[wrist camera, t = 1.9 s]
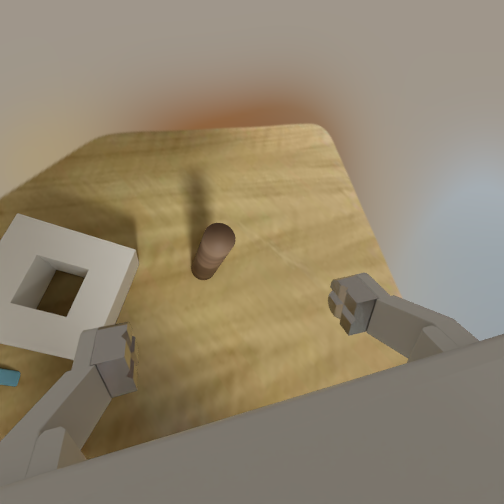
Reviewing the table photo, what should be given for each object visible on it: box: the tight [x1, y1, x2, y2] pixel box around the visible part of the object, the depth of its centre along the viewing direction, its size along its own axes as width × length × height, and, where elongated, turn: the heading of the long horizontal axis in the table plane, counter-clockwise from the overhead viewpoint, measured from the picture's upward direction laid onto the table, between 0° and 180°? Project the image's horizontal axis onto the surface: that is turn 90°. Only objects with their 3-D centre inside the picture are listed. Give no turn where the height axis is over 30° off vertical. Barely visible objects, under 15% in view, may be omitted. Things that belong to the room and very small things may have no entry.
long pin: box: [192, 223, 235, 280], centre depth 34 cm, size 3×3×12 cm
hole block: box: [0, 213, 139, 360], centre depth 31 cm, size 12×12×6 cm
